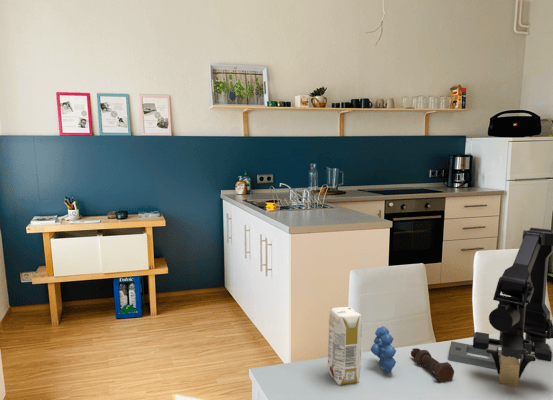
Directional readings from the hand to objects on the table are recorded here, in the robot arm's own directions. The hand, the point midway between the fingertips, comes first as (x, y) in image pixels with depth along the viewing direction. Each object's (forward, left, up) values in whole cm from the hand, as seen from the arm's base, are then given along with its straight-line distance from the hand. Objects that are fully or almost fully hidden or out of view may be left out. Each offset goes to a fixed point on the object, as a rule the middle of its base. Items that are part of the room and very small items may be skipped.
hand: (508, 375), depth 123 cm
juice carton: (+19, -41, -2) cm, 45 cm away
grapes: (+9, -33, -2) cm, 34 cm away
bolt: (+3, -20, -2) cm, 21 cm away
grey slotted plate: (-11, -8, -2) cm, 14 cm away
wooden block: (0, 0, -2) cm, 2 cm away
